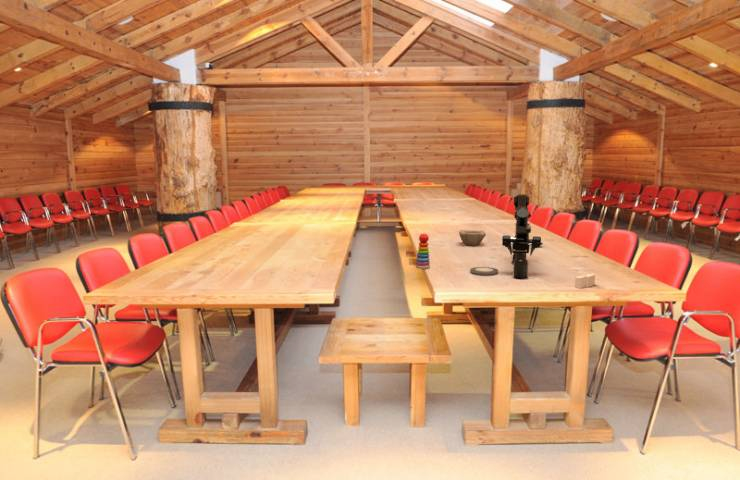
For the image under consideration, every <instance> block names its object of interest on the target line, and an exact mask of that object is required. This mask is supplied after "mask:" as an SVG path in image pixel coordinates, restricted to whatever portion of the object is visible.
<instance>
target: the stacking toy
mask: <svg viewBox="0 0 740 480" xmlns="http://www.w3.org/2000/svg"><path fill="white" fill-rule="evenodd" d="M418 239H419V242H418V248H417V249H418V250H417V254H416V256H417V257H416V261H415V265H414V267H415V268H416V269H419V270H428V268H429V269H430V268H431V265H430V264H431V262H430V254H429V253H430V251H429V242H428V241H429V235H428V234H427V233H425V232H424V233H420V235H419V237H418Z"/></svg>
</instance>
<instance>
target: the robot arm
mask: <svg viewBox="0 0 740 480" xmlns="http://www.w3.org/2000/svg"><path fill="white" fill-rule="evenodd" d="M513 206H514V210H515V211H514V216H513V217H514V219H515V221H516V223H515V230H516V235H514V237H511V235H509V234H508V235H506V234H505V235H502V238H501V239H502V242H501V245H502V246H503V247H505V248H507V250H508V251H509V253H510V255H511V256H512V259H511V260H512V261H511V263H512V264H514V260H515V259H516V253H525V254H526V255H527V254H530V255H529V256H530V257H531V256H532V255H533V253H534V251H535V250H536V249H538V248H540V247H541V246H542V245H541V243H542V237H541V236H540V235H539V236H536V235H535V236H532V238H529V239H527V237H528V233H529V234H530V233H531V232H532V226H531V225H529V226H528V224H529V223H528V221H529V219H530V218H531V217H532V214H531V211H529V208H528V206H530V197H529V196H527V194H525V193H524V194H523V193H522V194H521V193H520V194H519V193H518V194H517V195H516V196H514V197H513ZM528 243H529V244H528ZM531 244H532V245H531ZM530 245H531V246H530Z"/></svg>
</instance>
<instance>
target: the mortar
mask: <svg viewBox="0 0 740 480" xmlns="http://www.w3.org/2000/svg"><path fill="white" fill-rule="evenodd" d="M458 232H459V237H460V240H461V241H462V243H463V245H465V246H469V247H478V246H479V245H481V243H482V242H483V240H484V238H485V237H486V235H487V233H486V231H483V230H472V229H471V230H470V229H469V230H463V229H462V230H459V231H458Z"/></svg>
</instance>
